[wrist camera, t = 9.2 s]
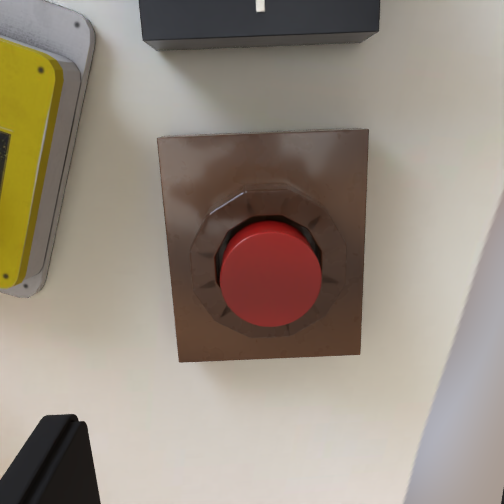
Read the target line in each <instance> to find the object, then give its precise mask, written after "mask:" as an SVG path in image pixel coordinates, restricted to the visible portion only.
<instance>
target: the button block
mask: <svg viewBox="0 0 504 504" xmlns="http://www.w3.org/2000/svg"><path fill="white" fill-rule="evenodd" d="M368 139H369V129H362V128H347V129H322V130H297V131H272V132H248V133H223V134H198V135H173V136H162V137H158V138H157V144H158V154H159V164H160V174H161V185H162V195H163V205H164V215H165V225H166V235H167V245H168V256H169V266H170V276H171V286H172V296H173V306H174V317H175V327H176V337H177V347H178V357H179V362H202V361H226V360H249V359H272V358H295V357H319V356H342V355H360V349H361V323H362V297H363V271H364V244H365V218H366V192H367V165H368ZM265 220H274V221H280V222H283V223H286V224H289V225H291V226H293V227H294V228H296V229H297V230H299V231H300V232H301V233H302V234H303V235H304V236H305V237H306V239H307V240H308V242H309V243H310V245H311V247H312V249H313V251H314V253H315V255H316V257H317V259H318V261H319V264H320V267H321V273H322V283H321V289H320V292H319V295H318V297H317V299H316V301H315V303H314V304H313V306H312V307H311V308H310V309H309V311H308V312H307V313H305V314H304V315H303V316H302V317H300V318H299V319H297V320H295V321H293V322H291V323H289V324H286V325H282V326H277V327H263V326H258V325H254V324H251V323H249V322H246V321H245V320H243V319H241V318H240V317H238V316H237V315H236V314H235V313H234V312H233V311H232V310H231V309H230V308H229V307H228V305H227V303H226V302H225V300H224V298H223V295H222V292H221V288H220V272H221V265H222V259H223V254H224V251H225V248H226V246H227V244H228V243H229V241H230V239H231V238H232V237H233V236H234V235H235V234H236V233H237V232H238V231H239V230H241V229H242V228H244V227H245V226H247V225H249V224H252V223H255V222H259V221H265Z"/></svg>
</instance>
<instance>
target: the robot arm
mask: <svg viewBox="0 0 504 504" xmlns="http://www.w3.org/2000/svg"><path fill="white" fill-rule="evenodd" d="M0 504H101V503H100V497H99V491H98V486H97V480H96V474H95V469H94V463H93V457H92V451H91V446H90V440H89V434H88V428H87V425H86V423H85V422H84V421H80V422H79V421H78V418H77V416H76V415H74V414H66V415H47V416H44V417H43V418H42V419H41V420H40V422H39V423H38V425H37V426H36V428H35V429H34V431H33V432H32V434H31V435H30V437H29V438H28V440H27V441H26V443H25V444H24V446H23V447H22V449H21V450H20V452H19V453H18V455H17V456H16V458H15V459H14V461H13V462H12V464H11V465H10V466H9V468H8V469H7V471H6V472H5V474H4V475H3V477H2V478H1V480H0ZM501 504H504V489H503V496H502V502H501Z"/></svg>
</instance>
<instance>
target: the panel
mask: <svg viewBox="0 0 504 504" xmlns="http://www.w3.org/2000/svg"><path fill="white" fill-rule="evenodd" d="M139 8H140V18H141V28H142V38H143V41H144V42H146V43H147V44H148V45H150V46H151V47H152V48H154V49H155V50H156V51H162V50H188V49H213V48H239V47H264V46H290V45H315V44H340V43H361V42H363V41H364V40H366V39H367V38H369V37H371V36H372V35H374V34H375V33H377V32H379V19H380V0H139Z"/></svg>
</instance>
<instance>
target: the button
mask: <svg viewBox="0 0 504 504" xmlns="http://www.w3.org/2000/svg"><path fill="white" fill-rule="evenodd" d="M321 283H322V273H321V267H320V264H319V261H318V259H317V257H316V255H315V253H314V251H313V249H312V247H311V245H310V243H309V242H308V240H307V239H306V237H305V236H304V235H303V234H302V233H301V232H300V231H299V230H297V229H296V228H294V227H293V226H291V225H289V224H286V223H283V222H280V221H274V220H265V221H259V222H255V223H252V224H249V225H247V226H245V227H244V228H242V229H241V230H239V231H238V232H237V233H236V234H235V235H234V236H233V237H232V238H231V239H230V241H229V243H228V244H227V246H226V248H225V251H224V254H223V259H222V265H221V272H220V288H221V292H222V295H223V298H224V300H225V302H226V303H227V305H228V307H229V308H230V309H231V310H232V311H233V312H234V313H235V314H236V315H237V316H238V317H240V318H241V319H243V320H245V321H246V322H249V323H251V324H254V325H258V326H263V327H277V326H282V325H286V324H289V323H291V322H293V321H295V320H297V319H299V318H300V317H302V316H303V315H304V314H305V313H307V312H308V311H309V309H310V308H311V307H312V306H313V304H314V303H315V301H316V299H317V297H318V295H319V292H320V289H321Z"/></svg>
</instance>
